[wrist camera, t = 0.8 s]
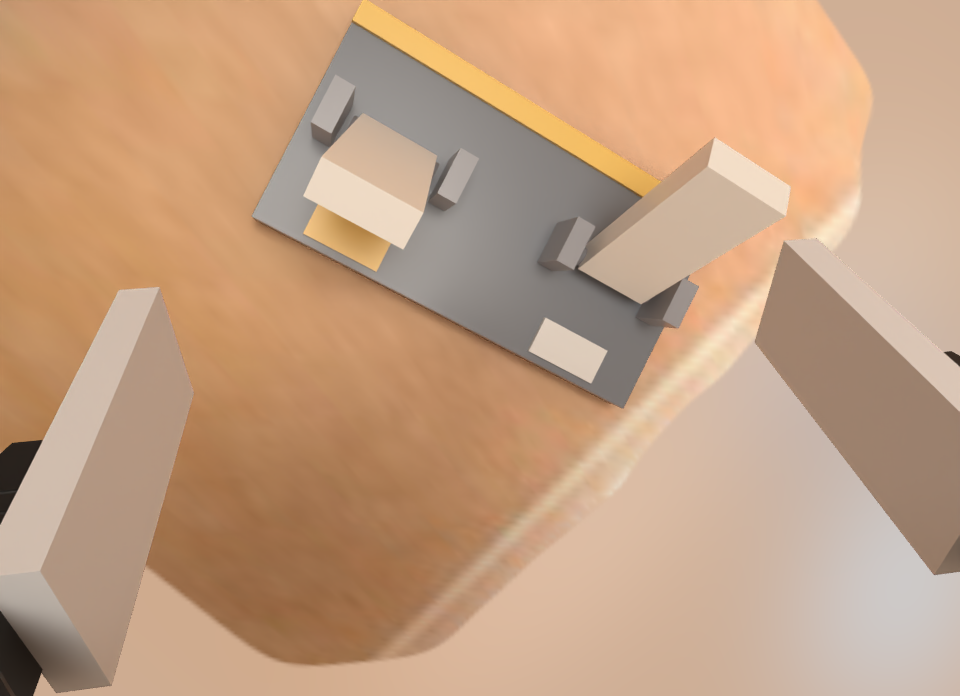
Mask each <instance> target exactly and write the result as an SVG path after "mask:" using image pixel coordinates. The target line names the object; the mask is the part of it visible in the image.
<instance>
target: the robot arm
mask: <svg viewBox="0 0 960 696" xmlns="http://www.w3.org/2000/svg"><path fill="white" fill-rule="evenodd" d="M755 343H756V345H757V346H758V347H759V348H760V350H761V351H762V352H763V354H764V355H765V356H766V358H767V359H768V360H769V361H770V363H771V364H772V365H773V367H774V368H775V369H776V371H777V372H778V373H779V374H780V376H781V377H782V378H783V380H784V381H785V382H786V384H787V385H788V386H789V387H790V389H791V390H792V391H793V393H794V394H795V395H796V397H798V399H799V400H800V402H801V403H802V404H803V406H804V407H805V408H806V409H807V411H808V412H809V413H810V415H811V416H812V417H813V419H814V420H815V421H816V422H817V424H818V425H819V426H820V428H821V429H822V430H823V432H824V433H825V434H826V435H827V437H828V438H829V439H830V441H831V442H832V443H833V445H834V446H835V447H836V448H837V449H838V451H839V452H840V454H841V455H842V456H843V457H844V459H845V460H846V461H847V463H848V464H849V465H850V466H851V468H852V469H853V470H854V472H855V473H856V474H857V476H858V477H859V478H860V480H861V481H862V482H863V483H864V485H865V486H866V487H867V489H868V490H869V491H870V493H871V494H872V495H873V496H874V498H875V499H876V500H877V502H878V503H879V504H880V506H881V507H882V508H883V509H884V511H885V512H886V513H887V514H888V516H889V517H890V519H891V520H892V521H893V522H894V524H895V525H896V526H897V527H898V529H899V530H900V532H901V533H902V534H903V535H904V537H905V538H906V539H907V541H908V542H909V543H910V545H911V546H912V547H913V548H914V550H915V551H916V552H917V553H918V555H919V556H920V558H921V559H922V560H923V561H924V562H925V564H926V565H927V567H928V568H929V569H930V570H931V572H932V573H933V574H934V575H938V574H945V573H953V572H960V356H959V355H957V354H955V353H953V352H952V351H949V352H943V351H941V350H940V349H939V348H938V347H937V346H936V345H935V344H934V343H933V342H931V341H930V340H929V339H928V338H927V337H926V336H925V335H924V334H923V333H922V332H920V331H919V330H918V329H917V328H916V327H915V326H914V325H913V324H911V323H910V322H909V321H908V320H907V319H906V318H905V317H904V316H903V315H902V314H900V313H899V312H898V311H897V310H896V309H895V308H894V307H893V306H891V305H890V304H889V303H888V302H887V301H886V300H885V299H884V298H882V297H881V296H880V295H879V294H878V293H877V292H876V291H875V290H874V289H873V288H871V287H870V286H869V285H868V284H867V283H866V282H865V281H864V280H863V279H861V278H860V277H859V276H858V275H857V274H856V273H855V272H854V271H852V270H851V269H850V268H849V267H848V266H847V265H846V264H845V263H844V262H843V261H841V260H840V259H839V258H838V257H837V256H836V255H835V254H834V253H833V252H831V251H830V250H829V249H828V248H827V247H826V246H825V245H824V244H823V243H821V242H820V241H819V240H818V239H817V238H814V239H801V240H787V241H784V242H783V246H782V249H781V253H780V256H779V260H778V263H777V267H776V270H775V273H774V277H773V280H772V284H771V287H770V291H769V294H768V298H767V301H766V304H765V308H764V311H763V315H762V318H761V322H760V325H759V329H758V332H757V336H756V339H755ZM193 395H194V391H193V388H192V385H191V382H190V379H189V376H188V373H187V370H186V367H185V364H184V361H183V358H182V355H181V352H180V348H179V345H178V342H177V339H176V336H175V333H174V330H173V327H172V324H171V321H170V318H169V315H168V312H167V309H166V305H165V302H164V299H163V296H162V293H161V290H160V287H153V288H140V289H126V290H119V291H118V293H117V295H116V297H115V299H114V301H113V303H112V305H111V307H110V309H109V311H108V313H107V315H106V317H105V319H104V321H103V323H102V325H101V327H100V329H99V331H98V333H97V335H96V336H95V338H94V340H93V342H92V344H91V346H90V348H89V350H88V352H87V354H86V356H85V358H84V360H83V362H82V364H81V366H80V368H79V370H78V372H77V374H76V376H75V378H74V380H73V382H72V384H71V386H70V388H69V390H68V392H67V394H66V396H65V398H64V400H63V402H62V404H61V406H60V408H59V410H58V412H57V414H56V416H55V418H54V420H53V422H52V424H51V426H50V428H49V430H48V432H47V434H46V436H45V437H44V439H43V440H39V441H28V442H18V443H12V444H11V445H9V446H8V447H7V448H6V449H5V450H4V451H3V452H2V453H1V454H0V696H33V694H34V692H35V689H36V686H37V683H38V681H39V678H40V675H41V673H42V674H43V675H44V677H45V678H46V679H47V681H48V682H49V684H50V685H51V686H52V688H53V689H54V691H55V692H56V693H60V692H68V691H75V690H82V689H90V688H97V687H105V686H111V685H112V682H113V679H114V675H115V672H116V668H117V664H118V661H119V657H120V654H121V650H122V647H123V643H124V640H125V636H126V633H127V629H128V625H129V622H130V618H131V615H132V611H133V608H134V604H135V601H136V597H137V594H138V590H139V586H140V583H141V579H142V576H143V572H144V569H145V565H146V562H147V558H148V555H149V551H150V547H151V544H152V540H153V537H154V533H155V530H156V526H157V523H158V519H159V516H160V512H161V508H162V505H163V501H164V498H165V494H166V491H167V487H168V484H169V480H170V477H171V473H172V469H173V466H174V462H175V459H176V455H177V452H178V448H179V445H180V441H181V438H182V434H183V430H184V427H185V423H186V420H187V416H188V413H189V409H190V406H191V402H192V399H193Z"/></svg>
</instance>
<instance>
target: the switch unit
mask: <svg viewBox="0 0 960 696" xmlns="http://www.w3.org/2000/svg"><path fill="white" fill-rule="evenodd" d="M362 113H364V114H366V115H368V116H369V117H371V118H373V119H375V120H376V121H378V122H380V123H382V124H383V125H385V126H387V127H388V128H390V129H392V130H394V131H395V132H397V133H399V134H401V135H402V136H404V137H406V138H408V139H409V140H411V141H413V142H415V143H416V144H418V145H420V146H421V147H423V148H425V149H427V150H428V151H430V152H432V153H434V154H435V155H437V159H436V162H437V163H439V164H440V165H439V167H438V169H437V171H436V173H435V175H434V177H433V179H432V180H431V184H430V188H429V192H428V196H427V201H426V205H425V209H424V213H423V215H422V217H421V218H420V220H419V222H418V224H417V226H416V227H415V229H414V231H413V233H412V235H411V237H410V238H409V240H408V242H407V244H406V246H405V247H404V249H401V248H399V247H397V246H395V245H394V244H392V243H390V242H388V241H386V240H384V239H382V238H380V237H379V236H377V235H375V234H373V233H371V232H369V231H367V230H365V229H364V228H362V227H360V226H358V225H356V224H354V223H352V222H351V221H349V220H347V219H345V218H343V217H341V216H339V215H337V214H336V213H334V212H332V211H330V210H328V209H326V208H324V207H322V206H321V205H319V204H317V203H315V202H313V201H311V200H309V199H307V198H306V197H304V196H303V195H304V193H305V191H306V189H307V186H308V184H309V182H310V180H311V178H312V176H313V174H314V171H315V169H316V167H317V165H318V163H319V161H320V159H321V157H322V155H323V154H324V153H325V152H326V151H327V150H328V149H329V148H330V147H331V146H332V145H333V144H334V143H335V142H336V141H337V140H338V139H339V138H340V137H341V135H342V134H343V133H344V132H345V131H346V130H347V128H348V126H349V124H350V122H351V120H352V119H353V117H354V115H355V116H357V117H360V116H361V114H362ZM660 182H661V181H659V180H657V179H656V178H654V177H653V176H651V175H649V174H648V173H646V172H644V171H643V170H641V169H640V168H638V167H636V166H635V165H633V164H632V163H630V162H628V161H627V160H625V159H623V158H622V157H620V156H619V155H617V154H615V153H614V152H612V151H610V150H609V149H607V148H606V147H604V146H602V145H601V144H599V143H598V142H596V141H594V140H593V139H591V138H589V137H588V136H586V135H585V134H583V133H581V132H580V131H578V130H576V129H575V128H573V127H572V126H570V125H568V124H567V123H565V122H564V121H562V120H560V119H559V118H557V117H555V116H554V115H552V114H551V113H549V112H547V111H546V110H544V109H542V108H541V107H539V106H538V105H536V104H534V103H533V102H531V101H530V100H528V99H526V98H525V97H523V96H521V95H520V94H518V93H517V92H515V91H513V90H512V89H510V88H509V87H507V86H505V85H504V84H502V83H500V82H499V81H497V80H496V79H494V78H492V77H491V76H489V75H487V74H486V73H484V72H483V71H481V70H479V69H478V68H476V67H475V66H473V65H471V64H470V63H468V62H466V61H465V60H463V59H462V58H460V57H458V56H457V55H455V54H453V53H452V52H450V51H449V50H447V49H445V48H444V47H442V46H441V45H439V44H437V43H436V42H434V41H432V40H431V39H429V38H428V37H426V36H424V35H423V34H421V33H419V32H418V31H416V30H415V29H413V28H411V27H410V26H408V25H407V24H405V23H403V22H402V21H400V20H398V19H397V18H395V17H394V16H392V15H390V14H389V13H387V12H385V11H384V10H382V9H381V8H379V7H377V6H376V5H374V4H373V3H371V2H369V1H368V0H362V2H361V4H360V6H359V8H358V10H357V12H356V14H355V16H354V18H353V19H352V23H351V25H350V27H349V29H348V31H347V33H346V35H345V37H344V39H343V41H342V43H341V45H340V46H339V48H338V50H337V52H336V54H335V56H334V58H333V60H332V62H331V64H330V66H329V68H328V70H327V72H326V74H325V75H324V77H323V79H322V81H321V83H320V85H319V87H318V89H317V91H316V93H315V95H314V97H313V99H312V101H311V103H310V104H309V106H308V108H307V110H306V112H305V114H304V116H303V118H302V120H301V122H300V124H299V126H298V128H297V130H296V132H295V133H294V135H293V137H292V139H291V141H290V143H289V145H288V147H287V149H286V151H285V153H284V155H283V157H282V159H281V161H280V162H279V164H278V166H277V168H276V170H275V172H274V174H273V176H272V178H271V180H270V182H269V184H268V186H267V188H266V190H265V192H264V193H263V195H262V197H261V199H260V201H259V203H258V205H257V207H256V209H255V211H254V213H253V215H252V217H253V218H254V219H255V220H256V221H258V222H260V223H262V224H264V225H266V226H268V227H270V228H272V229H273V230H275V231H277V232H279V233H281V234H283V235H285V236H287V237H289V238H291V239H293V240H295V241H297V242H299V243H301V244H302V245H304V246H306V247H308V248H310V249H312V250H314V251H316V252H318V253H320V254H322V255H324V256H326V257H328V258H330V259H331V260H333V261H335V262H337V263H339V264H341V265H343V266H345V267H347V268H349V269H351V270H353V271H355V272H357V273H359V274H360V275H362V276H364V277H366V278H368V279H370V280H372V281H374V282H376V283H378V284H380V285H382V286H384V287H386V288H388V289H390V290H391V291H393V292H395V293H397V294H399V295H401V296H403V297H405V298H407V299H409V300H411V301H413V302H415V303H417V304H419V305H420V306H422V307H424V308H426V309H428V310H430V311H432V312H434V313H436V314H438V315H440V316H442V317H444V318H446V319H448V320H449V321H451V322H453V323H455V324H457V325H459V326H461V327H463V328H465V329H467V330H469V331H471V332H473V333H475V334H477V335H478V336H480V337H482V338H484V339H486V340H488V341H490V342H492V343H494V344H496V345H498V346H500V347H502V348H504V349H506V350H507V351H509V352H511V353H513V354H515V355H517V356H519V357H521V358H523V359H525V360H527V361H529V362H531V363H533V364H535V365H536V366H538V367H540V368H542V369H544V370H546V371H548V372H550V373H552V374H554V375H556V376H558V377H560V378H562V379H564V380H566V381H567V382H569V383H571V384H573V385H575V386H577V387H579V388H581V389H583V390H585V391H587V392H589V393H591V394H593V395H595V396H596V397H598V398H600V399H602V400H604V401H606V402H608V403H610V404H613V405H615V406H618V407H620V408H624V406H625V404H626V402H627V400H628V398H629V396H630V394H631V392H632V390H633V388H634V386H635V384H636V382H637V380H638V378H639V376H640V374H641V372H642V370H643V368H644V366H645V364H646V362H647V360H648V358H649V356H650V354H651V352H652V350H653V348H654V346H655V344H656V342H657V340H658V338H659V336H660V334H661V332H662V330H663V328H664V327H669V328H679V326H680V324H681V322H682V320H683V318H684V316H685V314H686V312H687V310H688V308H689V306H690V304H691V302H692V300H693V298H694V296H695V294H696V292H697V290H698V288H699V287H698V286H697V285H695V284H693V283H692V282H690V281H688V278H689V276H690V275H688V276H687V277H685V278H683V279H682V280H680V281H679V282H677V283H675V284H674V285H672V286H670V287H669V288H667V289H665V290H664V291H662V292H661V293H659V294H657V295H656V296H654V297H652V298H651V299H650V300H649V301H648V302H647V303H642V304H639V303H638V302H636V301H634V300H632V299H631V298H629V297H627V296H625V295H623V294H622V293H620V292H618V291H616V290H615V289H613V288H611V287H609V286H608V285H606V284H604V283H602V282H600V281H599V280H597V279H595V278H593V277H592V276H590V275H588V274H586V273H584V272H583V271H581V270H579V269H578V267H579V266H578V265H576V264H577V262H578V260H579V258H580V256H581V254H582V252H583V250H584V248H585V246H586V244H587V243H588V242H590V241H591V240H592V239H593V238H594V237H596V236H597V235H598V234H599V233H600V232H602V231H603V230H604V229H605V228H606V227H608V226H609V225H610V224H611V223H612V222H614V221H615V220H616V219H617V218H618V217H620V216H621V215H622V214H623V213H624V212H626V211H627V210H628V209H629V208H630V207H632V206H633V205H634V204H635V203H636V202H638V201H639V200H640V199H641V198H642V197H644V196H645V195H646V194H647V193H648V192H650V191H651V190H652V189H653V188H654V187H656V186H657V185H658V184H659V183H660Z"/></svg>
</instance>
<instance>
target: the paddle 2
mask: <svg viewBox="0 0 960 696" xmlns="http://www.w3.org/2000/svg"><path fill="white" fill-rule="evenodd" d="M790 188H791V187H790V186H789V185H787V184H786V183H784V182H783V181H781V180H780V179H778V178H777V177H775V176H773V175H772V174H770V173H769V172H767V171H766V170H764V169H763V168H761V167H760V166H758V165H757V164H755V163H753V162H752V161H750V160H749V159H747V158H746V157H744V156H743V155H741V154H740V153H738V152H737V151H735V150H733V149H732V148H730V147H729V146H727V145H726V144H724V143H723V142H721V141H720V140H718V139H717V138H715V137H714V138H713V139H712V140H711V141H710V142H708V143H707V144H706V145H705V146H704V147H702V148H701V149H700V150H699V151H698V152H696V153H695V154H694V155H693V156H692V157H690V158H689V159H688V160H687V161H686V162H684V163H683V164H682V165H681V166H680V167H678V168H677V169H676V170H675V171H674V172H672V173H671V174H670V175H669V176H668V177H666V178H665V179H664V180H663V181H662V182H660V183H659V184H658V185H657V186H656V187H654V188H653V189H652V190H651V191H650V192H648V193H647V194H646V195H645V196H644V197H642V198H641V199H640V200H639V201H638V202H636V203H635V204H634V205H633V206H632V207H630V208H629V209H628V210H627V211H626V212H624V213H623V214H622V215H621V216H620V217H618V218H617V219H616V220H615V221H614V222H612V223H611V224H610V225H609V226H608V227H606V228H605V229H604V230H603V231H602V232H600V233H599V234H598V235H597V236H596V237H594V238H593V239H592V240H591V241H590V242H588V243H587V244H586V246H585V248H584V250H583V252H582V254H581V256H580V258H579V260H578V262H577V264H576V265H578V266H579V267H578V269H579V270H581V271H583V272H584V273H586V274H588V275H590V276H592V277H593V278H595V279H597V280H599V281H600V282H602V283H604V284H606V285H608V286H609V287H611V288H613V289H615V290H616V291H618V292H620V293H622V294H623V295H625V296H627V297H629V298H631V299H632V300H634V301H636V302H638V303H639V304H642V303H647V302H648V301H649V300H650V299H651V298H652V297H654V296H656V295H657V294H659V293H661V292H662V291H664V290H665V289H667V288H669V287H670V286H672V285H674V284H675V283H677V282H679V281H680V280H682V279H683V278H685V277H687V276H688V275H690V274H692V273H693V272H695V271H697V270H698V269H700V268H702V267H703V266H705V265H706V264H708V263H710V262H711V261H713V260H715V259H716V258H718V257H720V256H721V255H723V254H725V253H726V252H728V251H729V250H731V249H733V248H734V247H736V246H738V245H739V244H741V243H743V242H744V241H746V240H747V239H749V238H751V237H752V236H754V235H756V234H757V233H759V232H761V231H762V230H764V229H766V228H767V227H769V226H770V225H772V224H774V223H775V222H777V221H779V220H780V219H782V218H784V217H785V216H786V212H787V206H788V200H789V194H790Z"/></svg>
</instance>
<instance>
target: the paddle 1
mask: <svg viewBox="0 0 960 696" xmlns="http://www.w3.org/2000/svg"><path fill="white" fill-rule="evenodd" d="M436 159H437V155H435V154H434V153H432V152H430V151H428V150H427V149H425V148H423V147H421V146H420V145H418V144H416V143H415V142H413V141H411V140H409V139H408V138H406V137H404V136H402V135H401V134H399V133H397V132H395V131H394V130H392V129H390V128H388V127H387V126H385V125H383V124H382V123H380V122H378V121H376V120H375V119H373V118H371V117H369V116H368V115H366V114H364V113H362V114H361V116H360V117H357V116H355V115H354V117H353V119H352V120H351V122H350V124H349V126H348V128H347V130H346V131H345V132H344V133H343V134H342V135H341V137H340V138H339V139H338V140H337V141H336V142H335V143H334V144H333V145H332V146H331V147H330V148H329V149H328V150H327V151H326V152H325V153H324V154H323V155H322V157H321V159H320V161H319V163H318V165H317V167H316V169H315V171H314V174H313V176H312V178H311V180H310V182H309V184H308V186H307V189H306V191H305V193H304V195H303V196H304V197H306V198H307V199H309V200H311V201H313V202H315V203H317V204H319V205H321V206H322V207H324V208H326V209H328V210H330V211H332V212H334V213H336V214H337V215H339V216H341V217H343V218H345V219H347V220H349V221H351V222H352V223H354V224H356V225H358V226H360V227H362V228H364V229H365V230H367V231H369V232H371V233H373V234H375V235H377V236H379V237H380V238H382V239H384V240H386V241H388V242H390V243H392V244H394V245H395V246H397V247H399V248H401V249H404V247H405V246H406V244H407V242H408V240H409V238H410V237H411V235H412V233H413V231H414V229H415V227H416V226H417V224H418V222H419V220H420V218H421V217H422V215H423V213H424V209H425V205H426V201H427V196H428V192H429V188H430V184H431V180H432V179H433V177H434V175H435V173H436V171H437V169H438V167H439V165H440V164H439V163H437V162H436Z"/></svg>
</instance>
